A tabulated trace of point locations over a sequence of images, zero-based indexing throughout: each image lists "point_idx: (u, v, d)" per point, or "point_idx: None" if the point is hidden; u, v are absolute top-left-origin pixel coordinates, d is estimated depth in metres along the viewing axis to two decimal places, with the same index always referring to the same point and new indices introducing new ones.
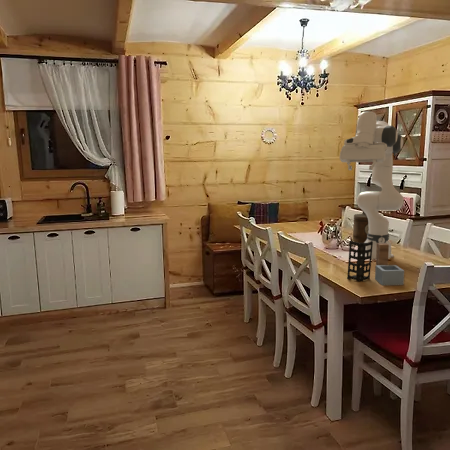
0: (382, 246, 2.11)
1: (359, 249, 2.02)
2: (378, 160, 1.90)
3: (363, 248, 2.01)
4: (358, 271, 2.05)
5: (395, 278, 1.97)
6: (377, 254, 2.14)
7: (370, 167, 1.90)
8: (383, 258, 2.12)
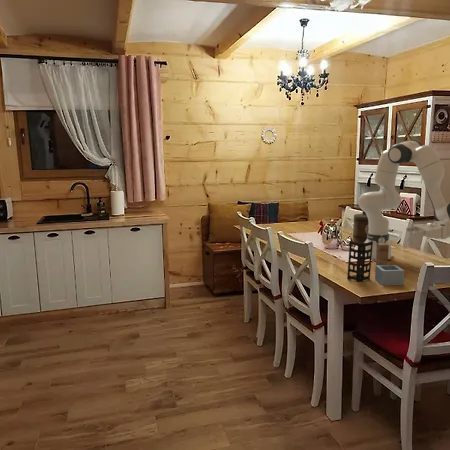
0: (382, 246, 2.11)
1: (359, 249, 2.02)
2: None
3: (363, 248, 2.01)
4: (358, 271, 2.05)
5: (395, 278, 1.97)
6: (377, 254, 2.14)
7: None
8: (383, 258, 2.12)
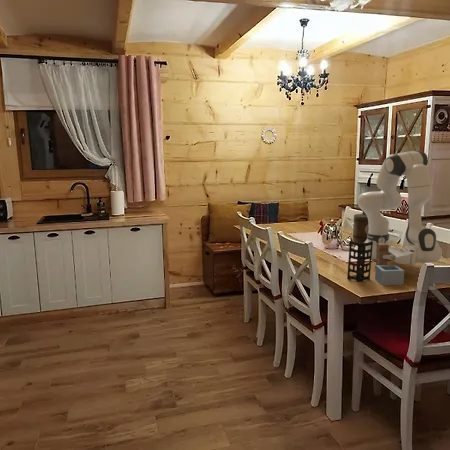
0: (382, 246, 2.11)
1: (359, 249, 2.02)
2: None
3: (363, 248, 2.01)
4: (358, 271, 2.05)
5: (395, 278, 1.97)
6: (377, 254, 2.15)
7: None
8: None
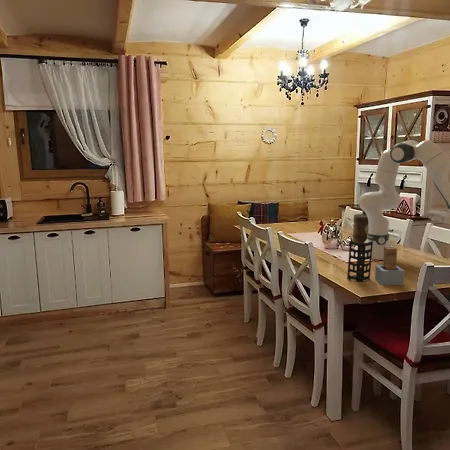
0: (390, 250, 1.98)
1: (359, 249, 2.02)
2: None
3: (363, 248, 2.01)
4: (358, 271, 2.05)
5: (395, 278, 1.97)
6: (384, 258, 2.02)
7: None
8: (390, 263, 1.99)
